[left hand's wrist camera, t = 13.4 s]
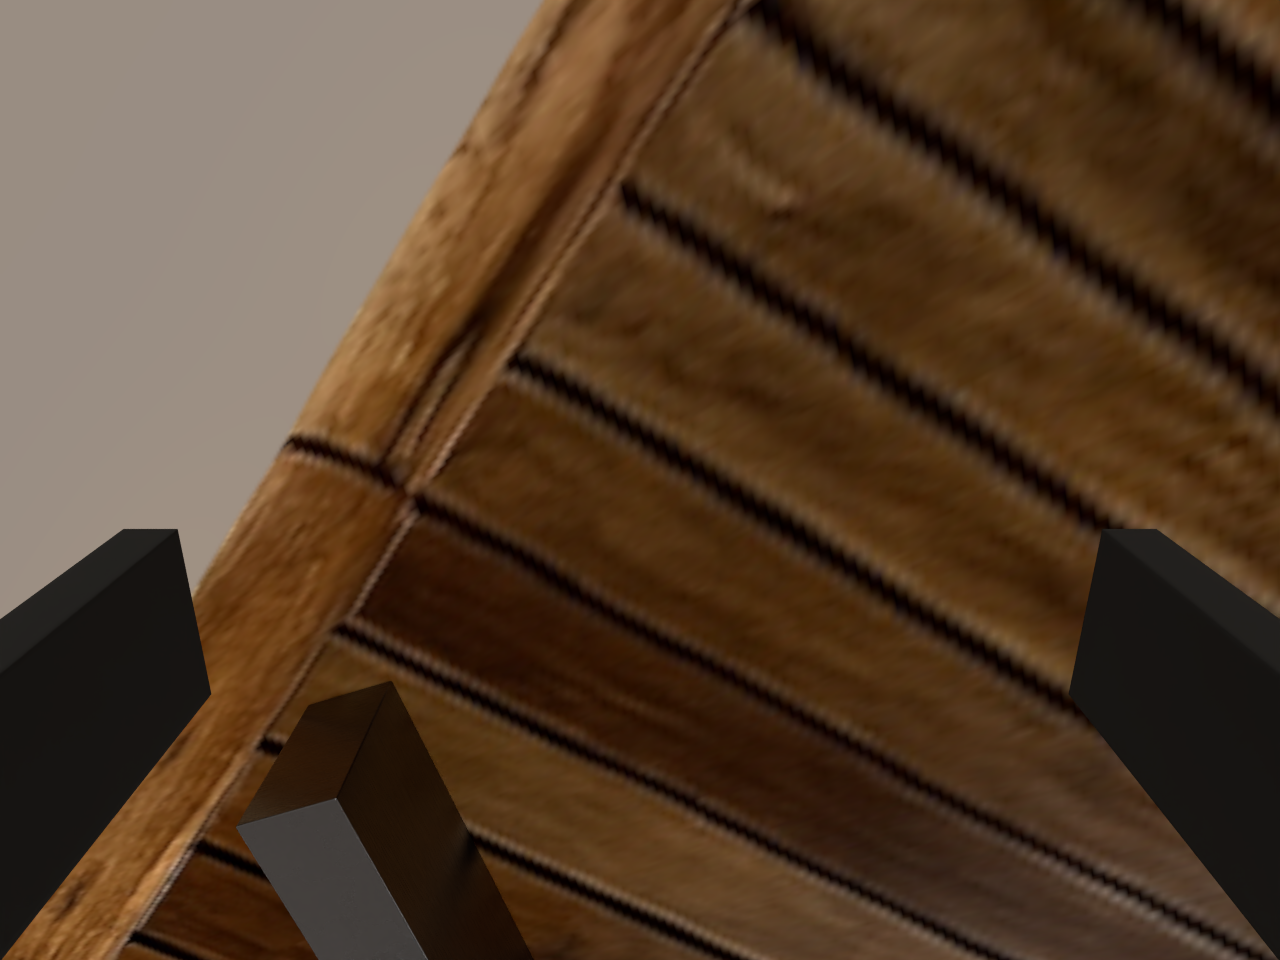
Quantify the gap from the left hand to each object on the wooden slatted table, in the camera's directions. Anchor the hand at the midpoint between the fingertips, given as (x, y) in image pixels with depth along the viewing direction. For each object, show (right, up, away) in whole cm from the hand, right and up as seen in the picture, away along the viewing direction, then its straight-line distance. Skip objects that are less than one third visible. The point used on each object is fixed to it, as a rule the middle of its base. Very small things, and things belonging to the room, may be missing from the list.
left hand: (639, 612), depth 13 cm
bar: (-11, -21, +37) cm, 44 cm away
